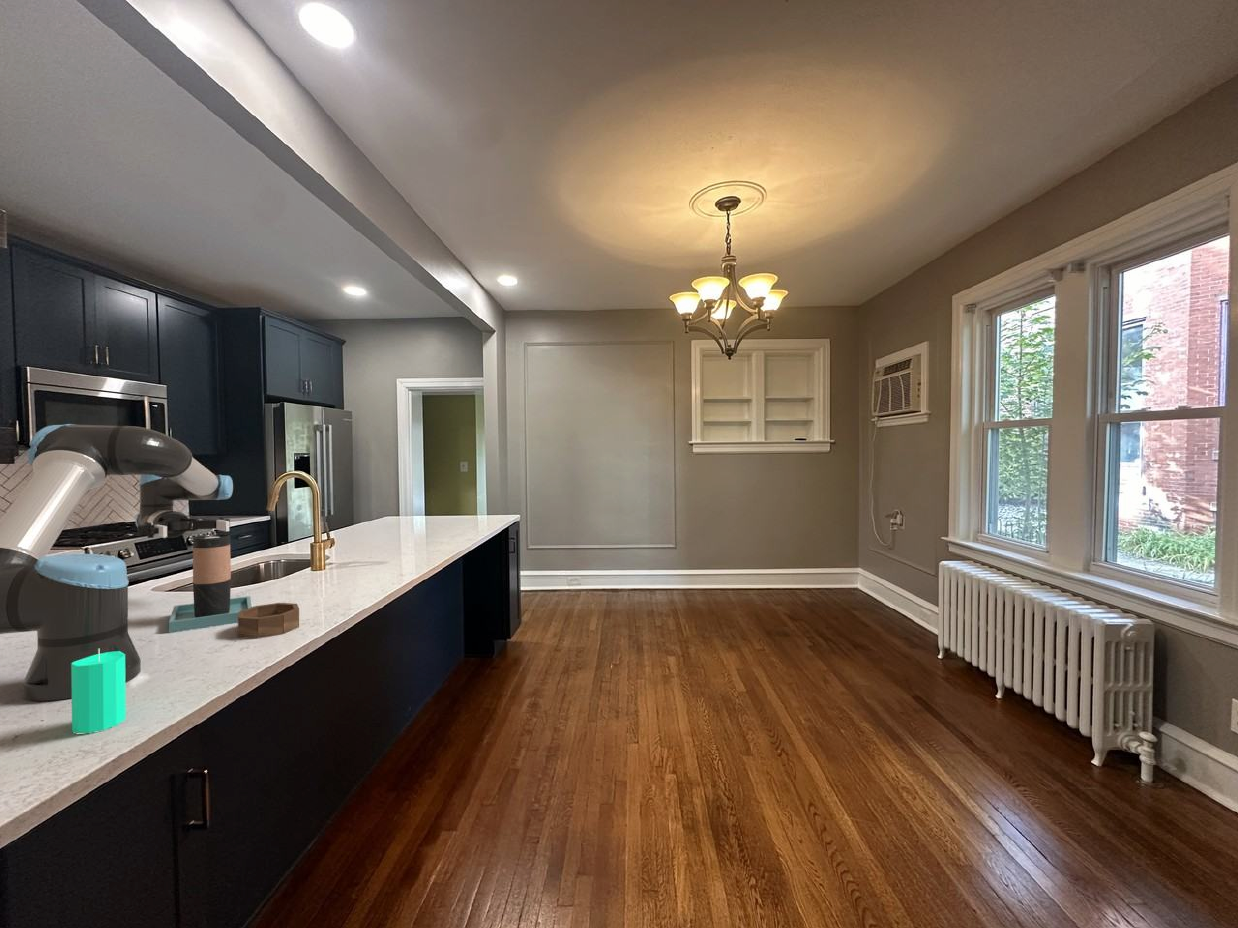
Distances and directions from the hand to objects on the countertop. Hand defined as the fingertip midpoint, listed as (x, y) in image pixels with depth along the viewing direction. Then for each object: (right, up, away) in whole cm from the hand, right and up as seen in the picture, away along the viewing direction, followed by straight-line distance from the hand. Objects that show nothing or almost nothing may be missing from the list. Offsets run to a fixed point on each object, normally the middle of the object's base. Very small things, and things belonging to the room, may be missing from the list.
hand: (197, 528), depth 139 cm
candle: (+31, -24, -57) cm, 69 cm away
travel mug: (+8, -21, -5) cm, 23 cm away
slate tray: (+8, -22, -5) cm, 24 cm away
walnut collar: (+28, -22, -13) cm, 38 cm away
